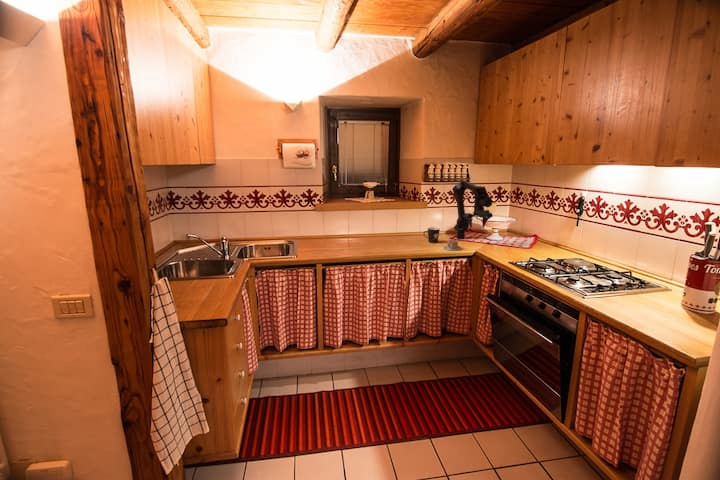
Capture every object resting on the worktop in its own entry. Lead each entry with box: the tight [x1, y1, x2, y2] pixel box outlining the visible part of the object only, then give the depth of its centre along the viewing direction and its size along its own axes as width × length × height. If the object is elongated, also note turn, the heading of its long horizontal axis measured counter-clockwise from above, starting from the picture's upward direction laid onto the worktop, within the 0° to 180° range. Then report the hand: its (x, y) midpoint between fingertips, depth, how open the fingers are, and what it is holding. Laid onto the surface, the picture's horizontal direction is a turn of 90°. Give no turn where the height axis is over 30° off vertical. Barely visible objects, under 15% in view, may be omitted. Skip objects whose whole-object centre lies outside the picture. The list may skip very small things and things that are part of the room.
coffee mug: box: [423, 226, 441, 244], centre depth 255 cm, size 12×9×10 cm
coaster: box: [443, 245, 463, 252], centre depth 238 cm, size 12×12×1 cm
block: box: [447, 238, 459, 249], centre depth 237 cm, size 6×4×5 cm, turn 12°
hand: (477, 227), depth 246 cm, fingers open, 9 cm apart
